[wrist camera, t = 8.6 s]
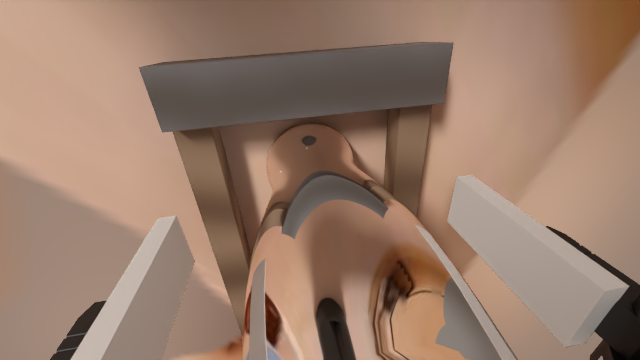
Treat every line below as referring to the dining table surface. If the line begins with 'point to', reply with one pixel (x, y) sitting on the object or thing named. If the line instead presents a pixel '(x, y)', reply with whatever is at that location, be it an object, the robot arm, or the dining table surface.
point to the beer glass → (352, 269)
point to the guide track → (290, 103)
